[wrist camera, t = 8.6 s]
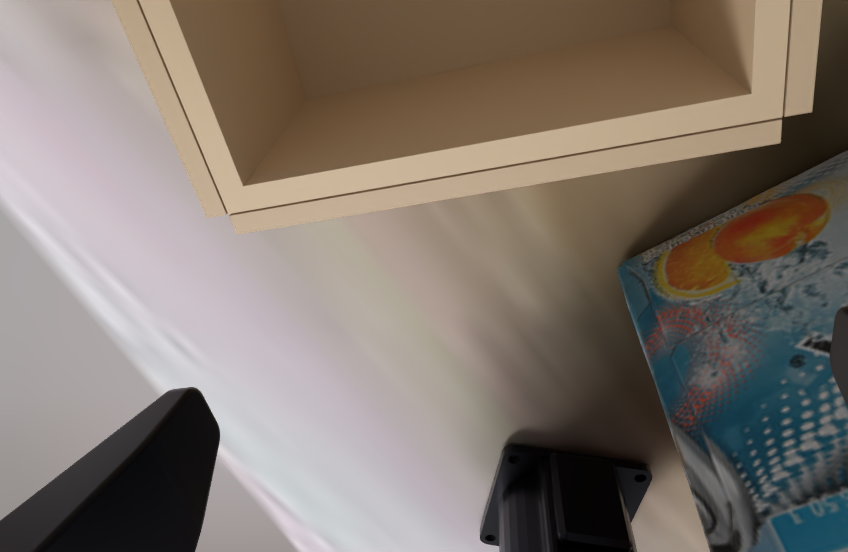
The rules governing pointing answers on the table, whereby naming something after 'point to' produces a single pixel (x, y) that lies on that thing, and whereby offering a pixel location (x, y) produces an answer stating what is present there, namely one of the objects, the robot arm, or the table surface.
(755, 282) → the soda box
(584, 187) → the table surface
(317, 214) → the carton
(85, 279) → the table surface
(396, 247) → the table surface
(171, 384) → the table surface
